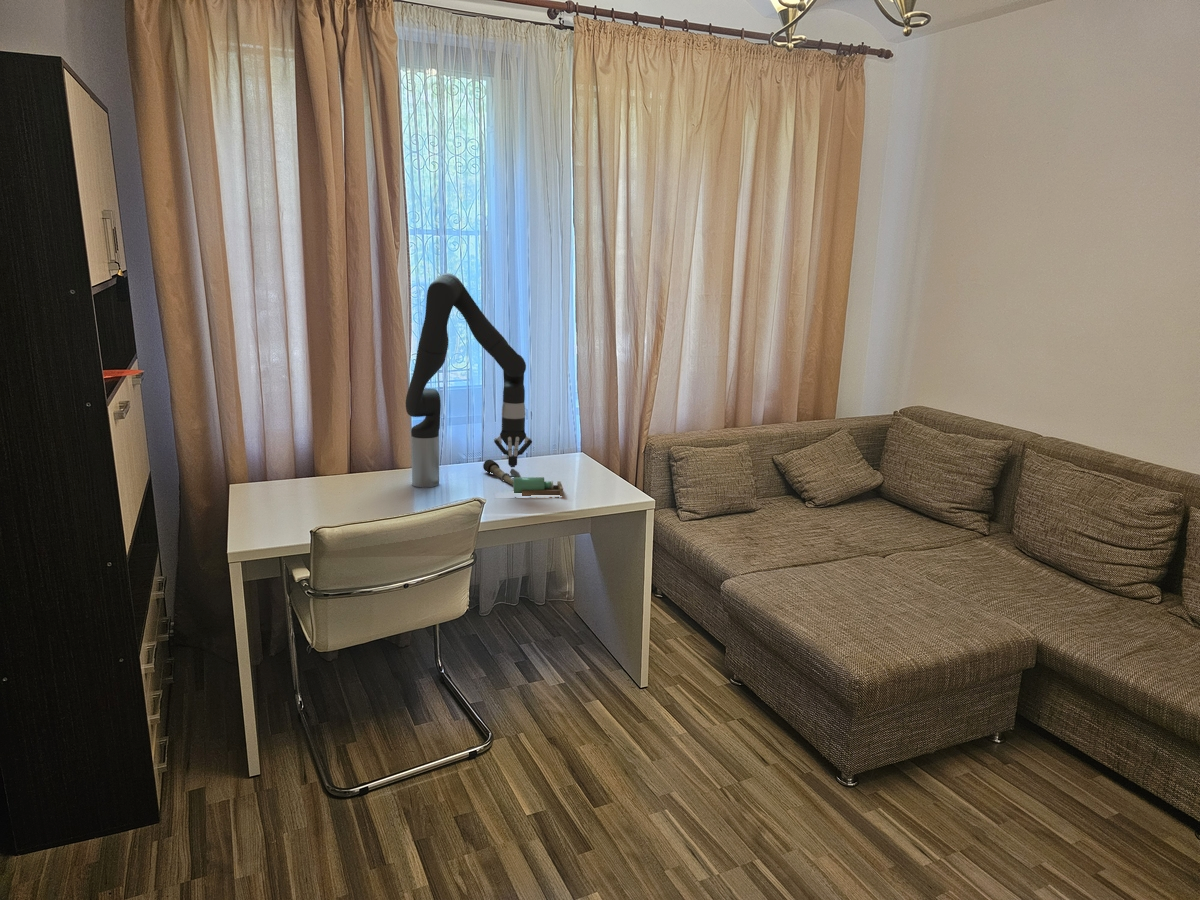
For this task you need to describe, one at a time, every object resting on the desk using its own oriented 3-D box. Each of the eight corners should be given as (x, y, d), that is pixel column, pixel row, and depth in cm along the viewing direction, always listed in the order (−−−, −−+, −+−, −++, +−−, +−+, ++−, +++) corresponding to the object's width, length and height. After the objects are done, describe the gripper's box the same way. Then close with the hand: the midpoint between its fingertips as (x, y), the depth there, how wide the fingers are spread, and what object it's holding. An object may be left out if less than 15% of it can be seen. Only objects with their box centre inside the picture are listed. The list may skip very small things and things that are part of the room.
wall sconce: (515, 496, 276) (483, 472, 301) (532, 493, 279) (499, 469, 304) (514, 483, 274) (482, 460, 300) (531, 480, 277) (498, 457, 303)
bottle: (513, 476, 274) (552, 476, 276) (513, 491, 275) (551, 491, 277) (514, 478, 269) (553, 478, 271) (514, 494, 270) (553, 494, 272)
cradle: (493, 493, 276) (493, 481, 275) (560, 492, 280) (560, 481, 279) (494, 500, 267) (494, 489, 266) (562, 500, 271) (563, 488, 270)
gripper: (532, 413, 272) (531, 463, 276) (492, 413, 269) (491, 463, 273) (534, 418, 264) (533, 469, 269) (493, 417, 262) (492, 469, 266)
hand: (512, 466), depth 271 cm, fingers closed
